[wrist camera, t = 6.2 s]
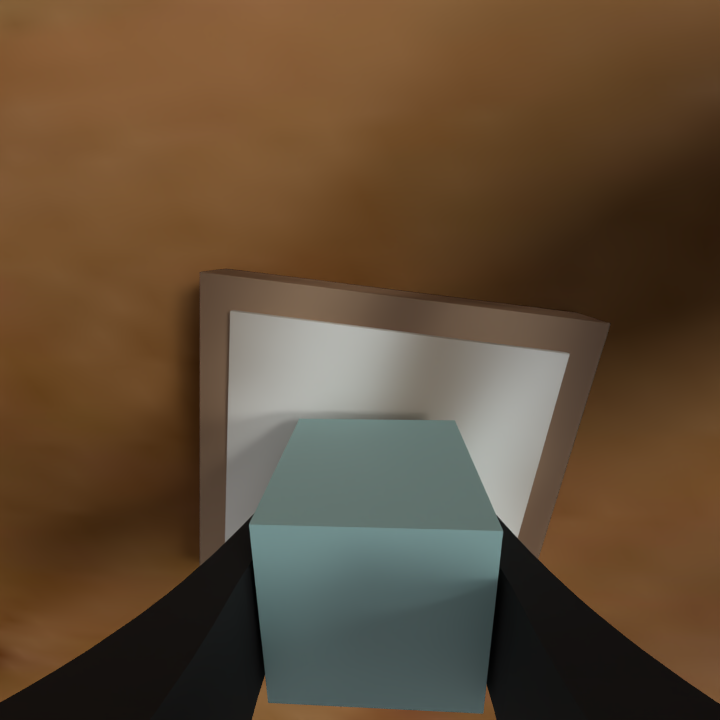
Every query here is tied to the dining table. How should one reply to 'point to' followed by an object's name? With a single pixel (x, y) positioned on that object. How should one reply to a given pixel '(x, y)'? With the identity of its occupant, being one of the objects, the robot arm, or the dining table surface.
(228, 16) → the dining table surface
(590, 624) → the robot arm
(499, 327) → the brown white flat square
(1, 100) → the dining table surface
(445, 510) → the teal cube
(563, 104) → the dining table surface
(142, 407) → the dining table surface
